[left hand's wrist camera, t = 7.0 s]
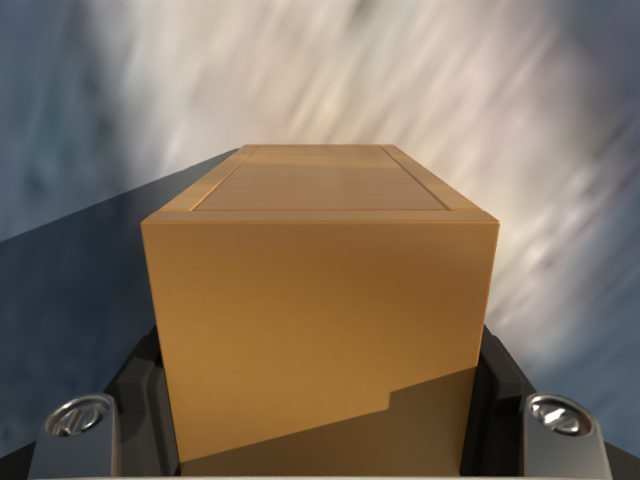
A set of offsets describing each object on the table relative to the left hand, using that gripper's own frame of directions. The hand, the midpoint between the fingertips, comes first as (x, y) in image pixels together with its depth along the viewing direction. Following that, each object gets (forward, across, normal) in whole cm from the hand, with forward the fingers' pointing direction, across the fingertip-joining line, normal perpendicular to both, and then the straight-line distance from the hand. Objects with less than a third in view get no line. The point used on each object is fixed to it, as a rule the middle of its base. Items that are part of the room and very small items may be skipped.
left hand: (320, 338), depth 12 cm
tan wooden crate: (+8, 0, +4) cm, 9 cm away
